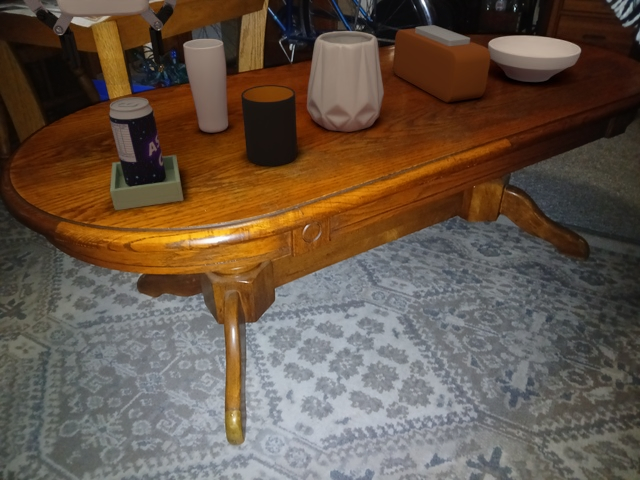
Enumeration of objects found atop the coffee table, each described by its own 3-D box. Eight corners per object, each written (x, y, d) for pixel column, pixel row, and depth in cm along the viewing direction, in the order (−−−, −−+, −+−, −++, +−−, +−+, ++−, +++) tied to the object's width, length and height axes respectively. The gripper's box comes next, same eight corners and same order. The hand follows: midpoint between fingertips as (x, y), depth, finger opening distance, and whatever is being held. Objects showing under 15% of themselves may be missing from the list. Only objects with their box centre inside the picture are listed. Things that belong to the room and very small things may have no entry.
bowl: (514, 61, 130) (520, 31, 126) (589, 79, 117) (598, 46, 113) (465, 76, 120) (470, 44, 116) (541, 97, 107) (550, 62, 103)
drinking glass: (234, 121, 97) (225, 38, 89) (231, 134, 92) (221, 48, 83) (197, 122, 97) (185, 38, 88) (192, 136, 91) (179, 48, 83)
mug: (265, 134, 92) (261, 76, 86) (307, 156, 84) (306, 94, 78) (225, 147, 87) (218, 86, 81) (265, 171, 80) (261, 106, 74)
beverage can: (161, 193, 72) (144, 110, 65) (121, 193, 72) (100, 111, 65) (171, 175, 77) (156, 96, 70) (133, 175, 77) (114, 96, 70)
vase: (376, 139, 90) (381, 49, 81) (298, 132, 92) (295, 44, 84) (386, 111, 101) (392, 29, 92) (317, 106, 104) (316, 26, 95)
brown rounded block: (484, 100, 106) (494, 42, 100) (449, 105, 103) (458, 47, 97) (422, 69, 124) (427, 19, 118) (391, 73, 122) (395, 22, 115)
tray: (115, 210, 70) (109, 191, 68) (116, 180, 77) (112, 162, 76) (183, 200, 72) (180, 181, 71) (179, 172, 80) (175, 154, 78)
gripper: (166, -99, 60) (185, 52, 70) (2, -101, 56) (47, 60, 65) (169, -98, 54) (190, 67, 64) (-14, -100, 50) (38, 77, 60)
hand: (117, 63), depth 65 cm, fingers open, 9 cm apart
